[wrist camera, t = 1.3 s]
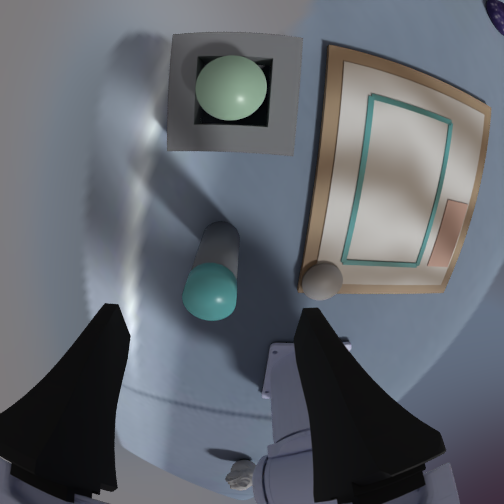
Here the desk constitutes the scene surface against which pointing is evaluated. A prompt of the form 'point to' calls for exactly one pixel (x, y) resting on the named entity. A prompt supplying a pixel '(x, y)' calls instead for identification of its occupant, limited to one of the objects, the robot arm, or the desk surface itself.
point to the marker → (214, 274)
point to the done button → (231, 87)
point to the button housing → (234, 135)
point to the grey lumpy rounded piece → (241, 475)
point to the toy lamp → (496, 14)
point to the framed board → (390, 179)
